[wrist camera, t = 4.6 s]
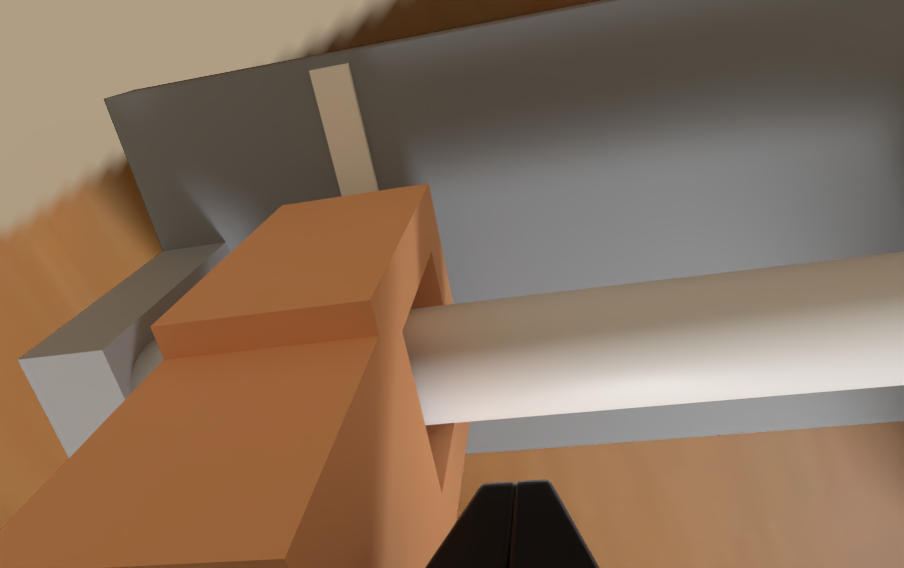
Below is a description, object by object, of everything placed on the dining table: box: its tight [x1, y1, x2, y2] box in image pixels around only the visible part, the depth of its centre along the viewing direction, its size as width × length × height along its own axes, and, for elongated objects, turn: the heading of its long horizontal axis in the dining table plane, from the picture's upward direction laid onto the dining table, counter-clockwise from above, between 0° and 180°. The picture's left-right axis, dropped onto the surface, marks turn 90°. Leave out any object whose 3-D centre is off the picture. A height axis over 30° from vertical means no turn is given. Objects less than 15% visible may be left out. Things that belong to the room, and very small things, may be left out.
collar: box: [0, 183, 470, 568], centre depth 10 cm, size 3×5×8 cm, turn 11°
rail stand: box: [18, 0, 904, 458], centre depth 13 cm, size 18×10×6 cm, turn 101°
